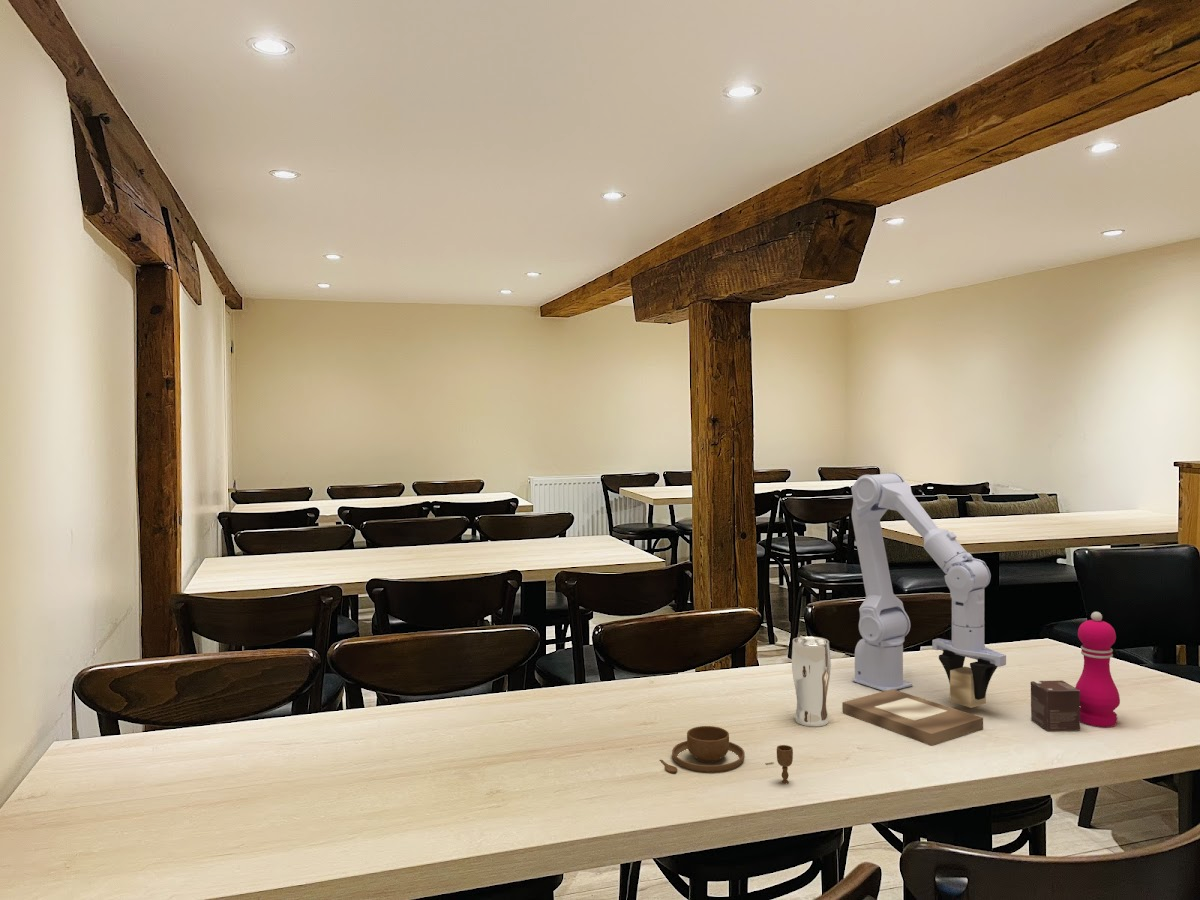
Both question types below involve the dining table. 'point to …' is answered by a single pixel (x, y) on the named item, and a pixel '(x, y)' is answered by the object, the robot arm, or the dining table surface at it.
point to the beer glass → (811, 679)
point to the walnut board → (913, 716)
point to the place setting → (719, 751)
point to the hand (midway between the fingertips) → (968, 694)
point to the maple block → (963, 688)
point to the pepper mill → (1097, 673)
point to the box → (1055, 705)
